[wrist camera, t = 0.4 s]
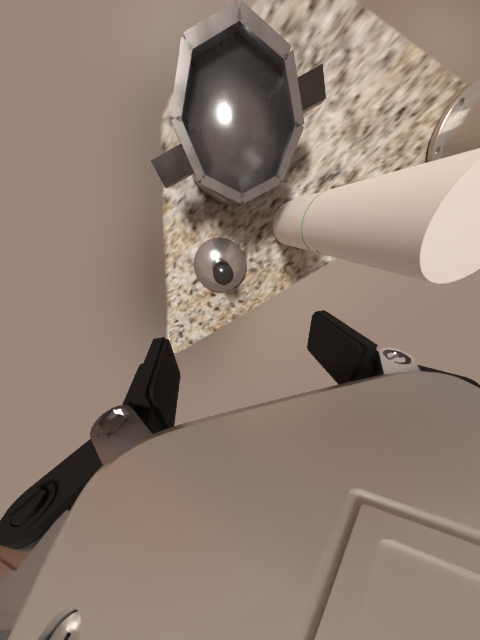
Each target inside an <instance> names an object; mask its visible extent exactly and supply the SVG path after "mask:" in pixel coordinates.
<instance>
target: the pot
mask: <svg viewBox="0 0 480 640" xmlns="http://www.w3.org/2000/svg"><path fill="white" fill-rule="evenodd" d="M290 48H291V45H290V44H289V43H288V42H287V41H286V40H284V39H283V38H282V37H281V36H280V35H279V34H278V33H277V32H276V31H275V30H273V29H272V28H271V27H270V26H269V25H268V24H267V23H266V22H265V21H264V20H262V19H261V18H260V17H259V16H258V15H257V14H256V13H255V12H254V11H253V10H251V9H250V8H249V7H248V6H247V5H246V4H245V3H244V2H243V1H241V3H240V7H239V5H238V1H237V0H236V1H234V2H233V3H231V4H229V5H228V6H226V7H224V8H223V9H221V10H219V11H218V12H216V13H215V14H213V15H211V16H210V17H208V18H206V19H205V20H203V21H201V22H200V23H198V24H196V25H195V26H193V27H192V28H190V29H188V30H187V31H185V32H184V38H183V37H181V43H180V51H179V58H178V65H177V72H176V79H175V86H174V93H173V100H172V108H171V115H170V116H171V119H172V120H171V122H172V125H173V127H174V129H175V132H176V134H177V136H178V138H179V140H180V143H181V144H180V145H178V146H176V147H174V148H173V149H171V150H169V151H167V152H166V153H164V154H162V155H160V156H159V157H157V158H155V159H153V160H151V162H152V164H153V166H154V167H155V169H156V171H157V173H158V175H159V177H160V179H161V181H162V182H163V184H164V186H165V188H169V187H170V186H172V185H174V184H176V183H178V182H180V181H181V180H183V179H185V178H187V177H189V176H190V175H192V177H193V179H194V180H195V182H196V183H197V185H198V186H199V187H200V189H201V190H202V191H203V192H204V193H205V194H206V195H207V196H208V197H210V198H211V199H212V200H214V201H216V202H218V203H221V204H224V205H228V206H237V205H242V204H245V203H247V202H249V201H251V200H253V199H255V198H257V197H259V196H261V195H263V194H264V193H266V192H267V191H269V190H271V189H272V188H274V187H276V186H278V185H280V184H281V182H283V180H284V177H285V175H286V172H287V170H288V167H289V165H290V162H291V159H292V157H293V154H294V152H295V149H296V146H297V144H298V141H299V139H300V136H301V134H302V131H303V128H304V127H303V126H302V125H303V124H304V118H303V113H305V112H307V111H309V110H310V109H312V108H314V107H316V106H318V105H319V104H321V103H322V102H323V101H324V100H325V99H326V95H325V85H324V74H323V64H321V65H319V66H318V67H316V68H314V69H312V70H310V71H309V72H307V73H305V74H303V75H302V76H300V77H298V78H297V72H296V65H295V59H294V52H293V50H292V51H290ZM289 51H290V52H289Z"/></svg>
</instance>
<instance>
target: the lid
mask: <svg viewBox="0 0 480 640" xmlns="http://www.w3.org/2000/svg"><path fill="white" fill-rule="evenodd" d="M194 270H195V274H196V276H197V278H198V280H199V281H200V282H201V283H202V284H203V285H204V286H205V287H207V288H208V289H210V290H213V291H218V292H223V291H228V290H231V289H233V288H234V287H236V286H237V285H238V284H239V283H240V282H241V281H242V279H243V277H244V275H245V271H246V259H245V256H244V254H243V252H242V250H241V249H240V247H239V246H238V245H237V244H235V243H234V242H232V241H231V240H229V239H225V238H213V239H210V240H208V241H206V242H204V243H203V244H202V245H201V246H200V247H199V249H198V250H197V252H196V255H195V258H194Z"/></svg>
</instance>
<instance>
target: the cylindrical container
mask: <svg viewBox="0 0 480 640" xmlns="http://www.w3.org/2000/svg"><path fill="white" fill-rule="evenodd" d="M273 233H274V235H275V237H276V239H277V240H278V241H279V242H280V243H282V244H285V245H289V246H293V247H296V248H300V249H304V250H308V251H312V252H316V253H320V254H324V255H328V256H332V257H335V258H339V259H343V260H347V261H351V262H355V263H359V264H363V265H366V266H371V267H374V268H378V269H382V270H386V271H390V272H394V273H398V274H402V275H405V276H409V277H413V278H417V279H421V280H425V281H429V282H433V283H440V284H441V283H442V284H444V283H450V282H454V281H457V280H460V279H462V278H464V277H466V276H468V275H470V274H472V273H474V272H475V271H477V270H478V269H480V148H478V149H474V150H471V151H467V152H463V153H460V154H456V155H453V156H449V157H445V158H442V159H438V160H435V161H431V162H427V163H424V164H420V165H417V166H413V167H409V168H406V169H402V170H399V171H395V172H391V173H388V174H384V175H381V176H377V177H373V178H370V179H366V180H363V181H359V182H355V183H352V184H348V185H344V186H341V187H337V188H334V189H330V190H327V191H323V192H319V193H316V194H312V195H308V196H305V197H301V198H298V199H294V200H290V201H288V202H286V203H284V204H282V205H281V206H280V207H279V209H278V210H277V212H276V214H275V216H274V219H273Z"/></svg>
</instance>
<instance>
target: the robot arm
mask: <svg viewBox="0 0 480 640" xmlns="http://www.w3.org/2000/svg"><path fill="white" fill-rule="evenodd" d="M478 148H480V79H479V80H478V81H476V82H474V83H472V84H470V85H469V86H468V87H466V88H465V89H464V90H463V91H462V92H461V93H460V94H459V95H458V96H457V97H456V98H455V99H454V100H453V101H452V103H451V104H450V105H449V106H448V108H447V109H446V111H445V112H444V114H443V115H442V117H441V119H440V121H439V123H438V124H437V126H436V128H435V131H434V133H433V136H432V138H431V142H430V145H429V149H428V155H427V162H431V161H435V160H438V159H442V158H445V157H449V156H453V155H456V154H460V153H463V152H467V151H471V150H474V149H478ZM307 348H308V351H310V353H311V354H312V355H313V356H314V357H315V359H316V360H317V361H318V362H319V363H320V364H321V365H322V366H323V368H324V369H325V370H326V371H327V372H328V373H329V374H330V375H331V376H332V378H333V379H334V380H335V381H336V382H337V383H338V384H339V385H336V386H331V387H328V388H323V389H319V390H315V391H311V392H306V393H302V394H298V395H294V396H290V397H286V398H282V399H278V400H274V401H269V402H265V403H261V404H258V405H253V406H249V407H245V408H242V409H238V410H233V411H229V412H225V413H221V414H218V415H214V416H210V417H207V418H202V419H199V420H195V421H191V422H187V423H184V424H181V425H177V426H174V423H175V414H176V407H177V398H178V391H179V383H180V371H179V369H178V365H177V362H176V360H175V356H174V353H173V350H172V347H171V344H170V342H169V339H165V338H164V337H162V338H157V339H153V341H152V344H151V346H150V349H149V351H148V353H147V356H146V358H145V361H144V363H143V364H140V366H139V367H138V370H137V372H136V374H135V377H134V379H133V381H132V384H131V386H130V388H129V391H128V393H127V395H126V398H125V400H124V402H123V405H119V406H116V407H114V408H111V409H110V410H108V411H106V412H105V413H104V414H103V415H102V416H100V417H99V418H98V419H97V420H96V422H95V423H94V425H93V426H92V428H91V431H90V438H91V439H90V440H89V441H88V442H86V443H85V444H83V445H82V446H81V447H80V448H79V449H78V450H76V451H75V452H74V453H73V454H71V455H70V456H69V457H68V458H66V459H65V460H64V461H62V462H61V463H60V464H59V465H57V466H56V467H55V468H54V469H53V470H52V471H50V472H49V473H48V474H47V475H45V476H44V477H43V478H41V479H40V480H39V481H38V482H36V483H35V484H34V485H33V486H31V487H30V488H29V489H28V490H26V491H25V492H24V493H23V494H22V495H21V496H20V497H19V498H18V499H17V500H16V501H15V502H14V503H13V504H12V505H11V507H10V508H9V509H8V510H7V511H6V513H5V515H4V516H3V517H2V519H1V520H0V640H480V385H479V384H478V383H477V382H475V381H473V380H472V379H469V378H467V377H463V376H459V375H455V374H451V373H447V372H443V371H439V370H435V369H432V368H427V367H423V366H420V365H417V363H416V361H415V359H414V358H413V357H412V356H410V355H409V354H407V353H406V352H403V351H401V350H398V349H394V348H382V349H380V350H379V352H378V351H377V350H376V348H377V344H375V343H374V342H372V341H370V340H369V339H367V338H366V337H364V336H363V335H361V334H360V333H358V332H357V331H355V330H354V329H352V328H351V327H349V326H348V325H346V324H345V323H343V322H342V321H340V320H339V319H337V318H336V317H334V316H332V315H331V314H329V313H328V312H326V311H317V312H315V313H314V314H313V315H312V320H311V326H310V333H309V339H308V346H307ZM78 611H79V612H78Z"/></svg>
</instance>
